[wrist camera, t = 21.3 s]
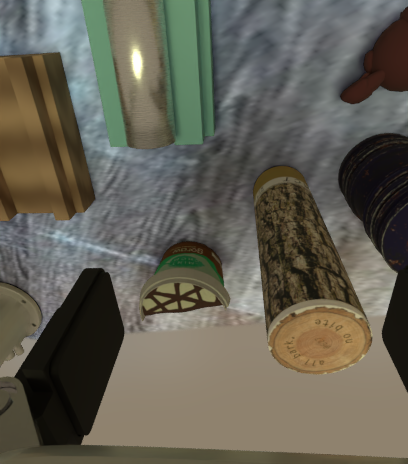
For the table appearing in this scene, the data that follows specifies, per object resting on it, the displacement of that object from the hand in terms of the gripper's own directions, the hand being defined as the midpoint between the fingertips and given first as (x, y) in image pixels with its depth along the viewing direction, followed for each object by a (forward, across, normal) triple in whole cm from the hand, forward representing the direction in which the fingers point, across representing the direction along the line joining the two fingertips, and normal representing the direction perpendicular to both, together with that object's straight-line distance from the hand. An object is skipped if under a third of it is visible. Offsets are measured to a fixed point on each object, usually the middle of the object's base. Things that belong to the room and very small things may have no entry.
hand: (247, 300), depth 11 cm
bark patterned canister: (+33, -5, +11) cm, 35 cm away
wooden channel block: (+33, +26, +2) cm, 42 cm away
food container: (+33, +8, +20) cm, 40 cm away
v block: (+33, +9, -5) cm, 34 cm away
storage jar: (+33, -17, +9) cm, 38 cm away
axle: (+28, +9, -6) cm, 30 cm away
